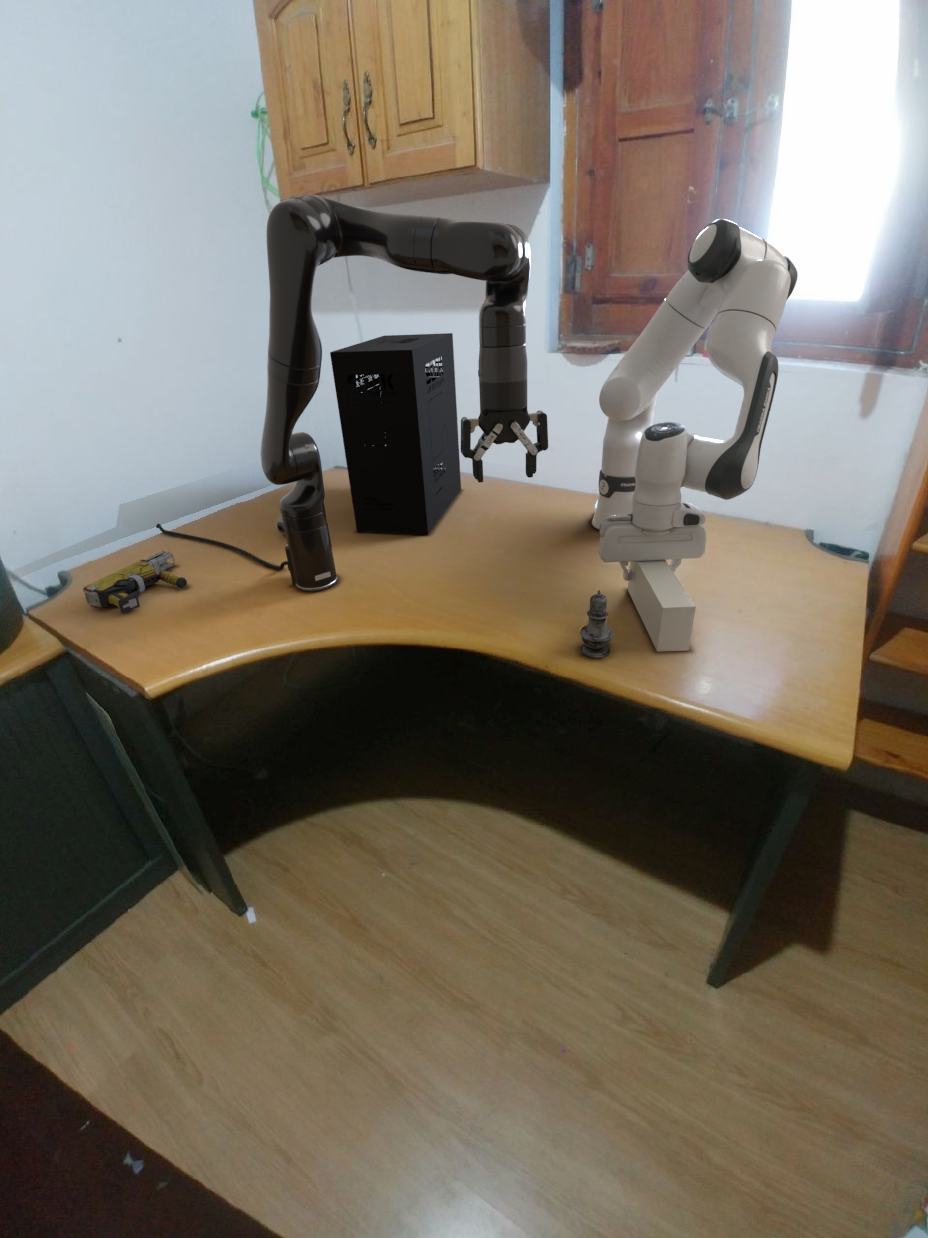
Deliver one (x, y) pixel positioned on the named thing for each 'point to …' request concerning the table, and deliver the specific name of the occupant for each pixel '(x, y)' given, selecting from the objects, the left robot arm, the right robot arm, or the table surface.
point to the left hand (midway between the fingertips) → (504, 478)
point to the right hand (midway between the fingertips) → (647, 578)
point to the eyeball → (280, 524)
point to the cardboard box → (399, 430)
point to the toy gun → (131, 583)
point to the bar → (662, 604)
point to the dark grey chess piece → (596, 628)
